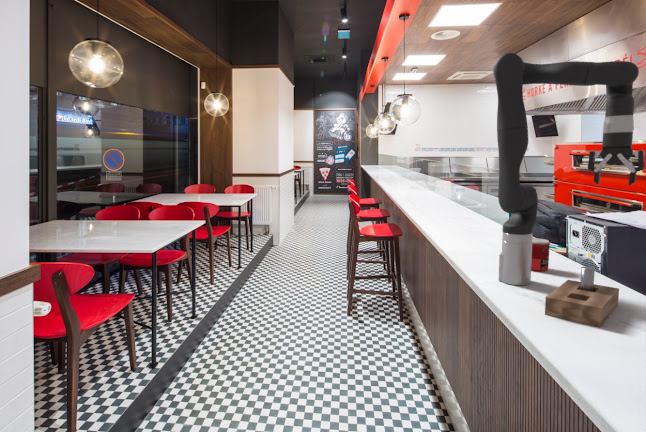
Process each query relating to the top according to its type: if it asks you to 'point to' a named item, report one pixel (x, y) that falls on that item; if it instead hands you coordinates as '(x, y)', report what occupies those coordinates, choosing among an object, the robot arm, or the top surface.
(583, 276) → the pin
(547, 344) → the top surface
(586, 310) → the hole block
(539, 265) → the canned food
